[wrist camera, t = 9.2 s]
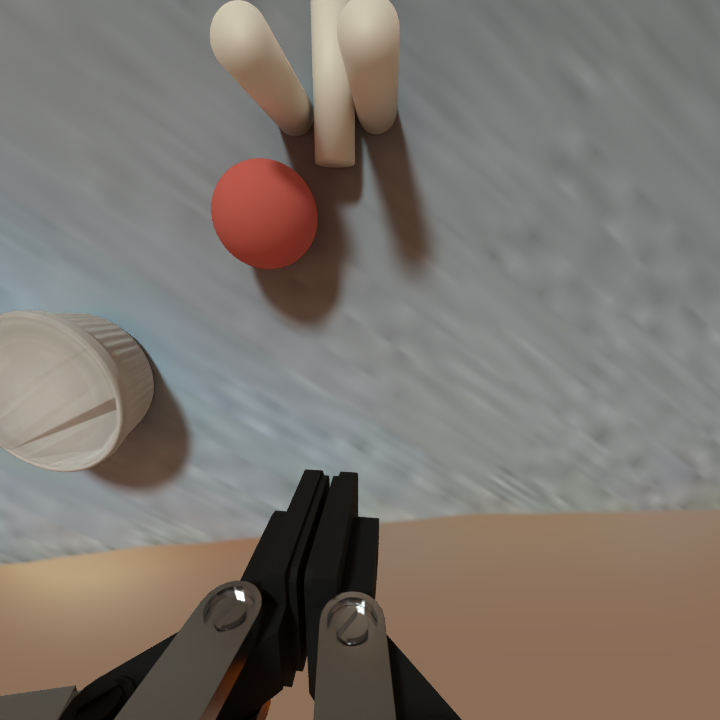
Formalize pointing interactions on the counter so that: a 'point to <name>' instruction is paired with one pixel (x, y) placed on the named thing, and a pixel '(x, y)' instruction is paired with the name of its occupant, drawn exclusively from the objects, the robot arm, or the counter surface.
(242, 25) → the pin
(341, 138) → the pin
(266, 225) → the ball
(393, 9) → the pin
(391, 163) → the counter surface
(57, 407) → the ramekin
